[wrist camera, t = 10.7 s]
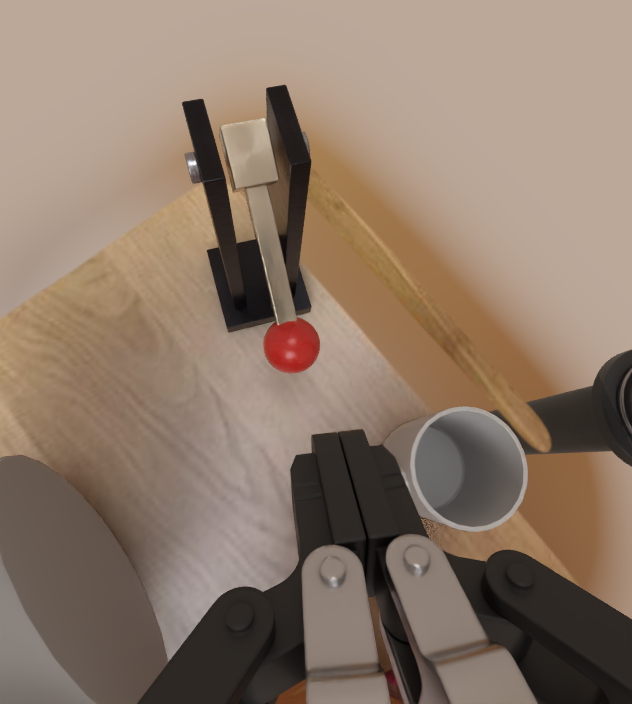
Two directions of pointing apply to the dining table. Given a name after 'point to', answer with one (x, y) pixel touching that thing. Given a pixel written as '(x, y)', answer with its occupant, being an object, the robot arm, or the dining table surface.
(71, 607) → the alarm clock
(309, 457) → the robot arm
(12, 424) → the dining table surface
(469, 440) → the cup
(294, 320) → the power lever
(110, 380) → the dining table surface
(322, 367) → the dining table surface
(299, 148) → the switch bracket
